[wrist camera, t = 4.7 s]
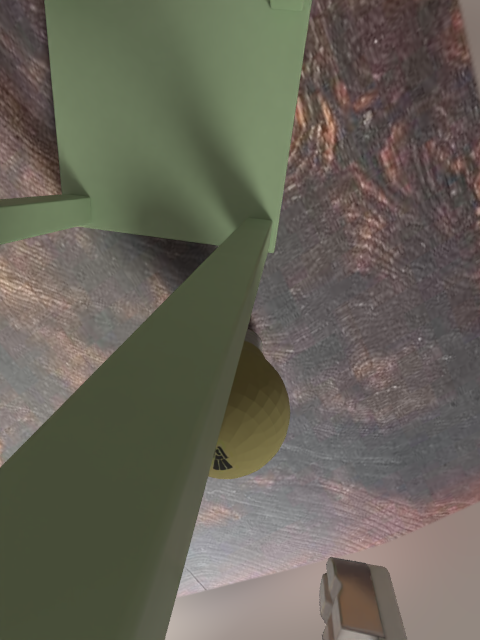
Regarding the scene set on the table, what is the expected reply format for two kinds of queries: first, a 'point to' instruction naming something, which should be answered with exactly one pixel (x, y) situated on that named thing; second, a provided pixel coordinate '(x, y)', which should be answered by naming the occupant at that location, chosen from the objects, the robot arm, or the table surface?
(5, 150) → the table surface
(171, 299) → the stand
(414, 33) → the table surface
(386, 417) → the table surface
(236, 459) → the light bulb
